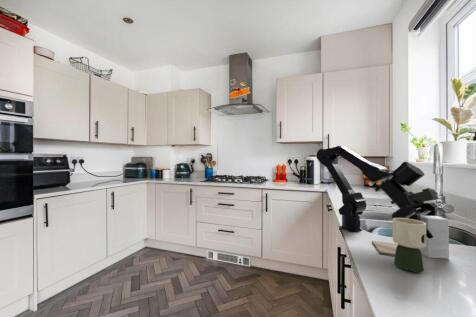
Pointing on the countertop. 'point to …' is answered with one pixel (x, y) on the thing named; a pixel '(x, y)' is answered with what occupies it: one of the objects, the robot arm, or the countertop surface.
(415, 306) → the countertop surface
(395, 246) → the curved brown sheet
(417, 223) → the character mug
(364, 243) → the countertop surface
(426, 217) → the skincare box
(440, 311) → the countertop surface
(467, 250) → the countertop surface
